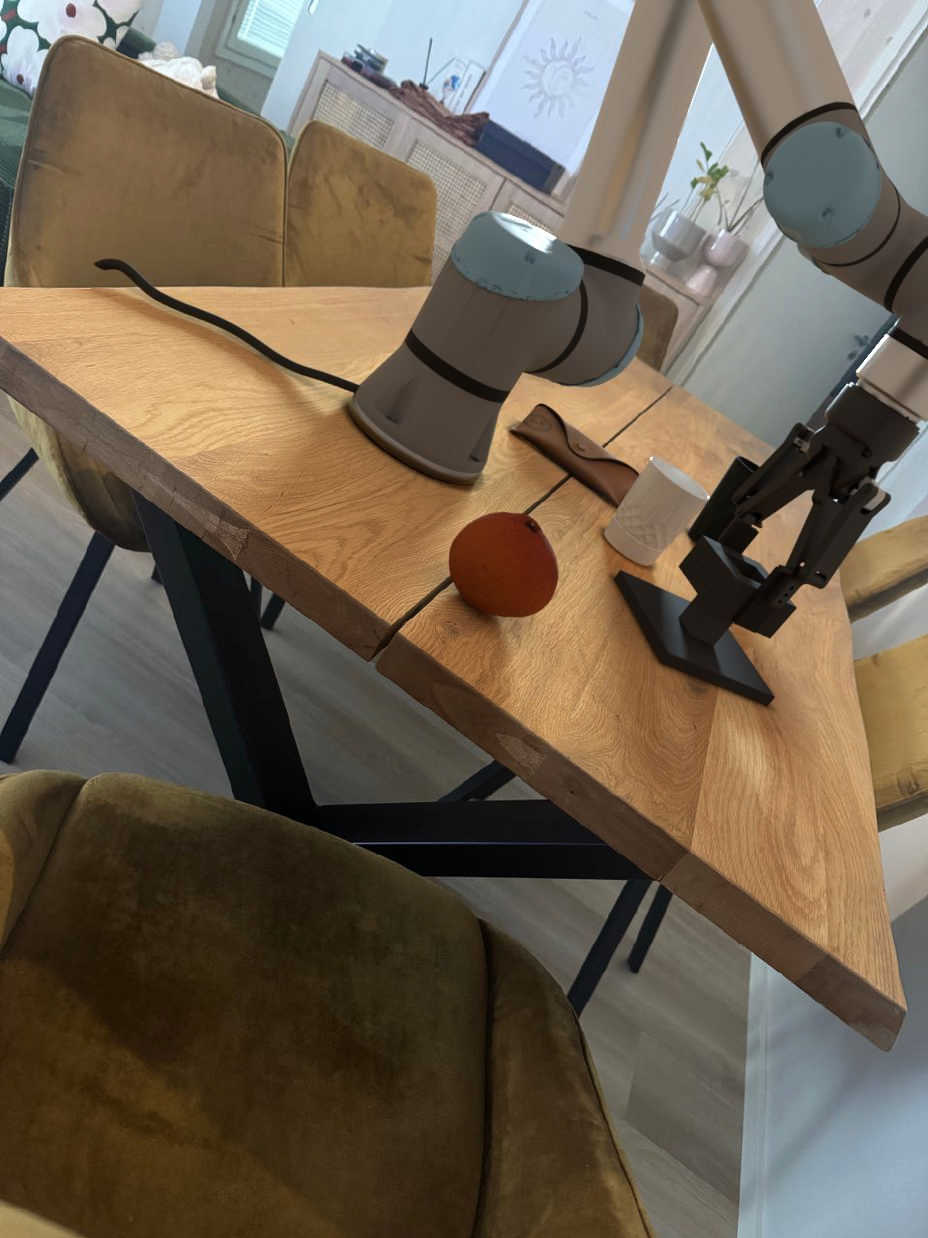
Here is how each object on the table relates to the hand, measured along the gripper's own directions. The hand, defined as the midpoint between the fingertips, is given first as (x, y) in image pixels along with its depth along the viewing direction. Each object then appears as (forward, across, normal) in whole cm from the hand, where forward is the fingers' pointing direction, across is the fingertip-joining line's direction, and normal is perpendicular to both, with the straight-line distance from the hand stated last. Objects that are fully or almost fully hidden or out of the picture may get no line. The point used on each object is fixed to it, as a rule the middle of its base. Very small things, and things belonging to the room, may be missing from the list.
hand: (724, 600), depth 89 cm
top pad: (0, 0, 0) cm, 0 cm away
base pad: (+6, 0, 0) cm, 6 cm away
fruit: (+6, -9, +27) cm, 29 cm away
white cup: (+6, +17, +1) cm, 18 cm away
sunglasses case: (+5, +37, +3) cm, 37 cm away
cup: (+6, +32, -19) cm, 38 cm away
